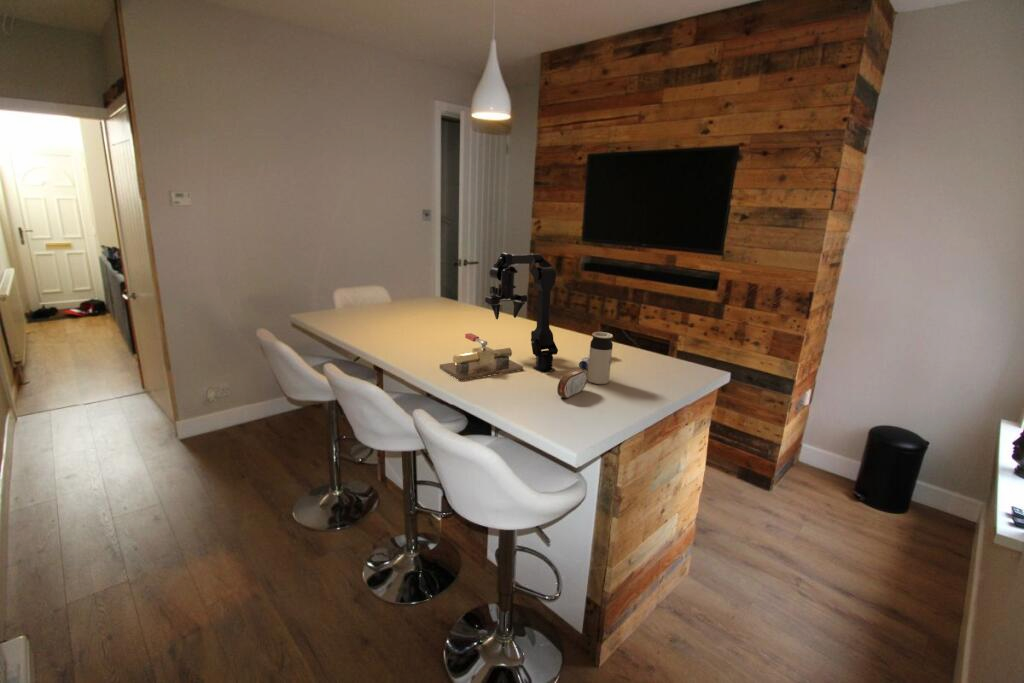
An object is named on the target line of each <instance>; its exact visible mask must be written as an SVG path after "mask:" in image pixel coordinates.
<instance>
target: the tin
mask: <svg viewBox="0 0 1024 683" xmlns="http://www.w3.org/2000/svg"><path fill="white" fill-rule="evenodd" d="M587 376H588V372H586V371H584V369H581V368H576V369H573V370H570V371H569V372H566V373H564V374H563V375H562V376H561V377H560V378H559V381H558V384H557V395H558V396H559V397H562V398H565V399H569V398H571V397H574V396H575V395H578V394H580V393H582V391H583V390H584V388H585V387H586V384H587Z"/></svg>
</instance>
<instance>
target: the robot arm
mask: <svg viewBox="0 0 1024 683" xmlns="http://www.w3.org/2000/svg"><path fill="white" fill-rule="evenodd" d="M523 264H524V265H525V264H527V265H528V264H529V272H530V274H531V275H532V277H533V284H534V286H535V288H536V289H537V302H536V303H537V304H536V305H537V307H536V327H535V329H534V330H531V332H530V343H531V344H530V345H531V350H532V354H533V355H534V356H535V357H536V358H535V366H532V369H534V370H537V371H539V372H541V373H547V372H548V373H549V372H553V371H554V372H555V371H556V369H555V368H553V363H554V362H553V361H554V355H558V352H559V350H558V347H557V345H556V343H555V341H554V333H553V332H552V329H551V328H550V323H551V321H550V319H551V299H552V298H551V296H552V290H553V288H554V286H555V284H556V280H557V271H556V270H555V268H554V266H553V265H552V263H550V261H548V260H546V259H545V258H544V256H543V255H542V254H541V253H529V254H519V253H517V252H501V253H500V255H499V257H498V258H497V261H496V263H494V264H493V266H492V267H491V268H490V270H489V277H490V278H491V279H492V280H496V281H499V282H500V283H499V284H498V286H497V287H496V286H490V287H489V295H486V296H485V298H484V303H487V305H489V306H491V309H492V311H493V314H494V317H495V320H498V319H499V316H500V310H501V309H500V308H501V304H500V302H511V301H512V303H513V314H512V315H513V318H514V319H515V318H517V316H518V314H519V312H520V310H521V309H522V307H523V306H524V305H525V304H526V303H528V301H529V298H528V295H526V294H523V293H515V289H516V288H517V285H515V274H518V270H517V269H516V266H520V265H523ZM537 265H538V267H537Z"/></svg>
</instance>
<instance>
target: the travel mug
mask: <svg viewBox="0 0 1024 683" xmlns="http://www.w3.org/2000/svg"><path fill="white" fill-rule="evenodd" d="M591 335H592V339H591V341H590V346H589V355H588V356H589V365H588V368H587V379H586V381H588V382H589V383H592V384H594V385H606V384H608V383H610V382H609V381H610V372H611V364H612V355H613V354H612V353H613V345H614V344H613V341H612V339H613V337H614V336H613V334H612V333H609V332H604V331H595V332H593V333H591Z"/></svg>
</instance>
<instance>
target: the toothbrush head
mask: <svg viewBox="0 0 1024 683" xmlns="http://www.w3.org/2000/svg"><path fill="white" fill-rule="evenodd" d="M588 365H589V355H588V356H585V357H583V358H582V359H581V360H580V362H578V367H579V369H580V370H584V369H585V370H588Z"/></svg>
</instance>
